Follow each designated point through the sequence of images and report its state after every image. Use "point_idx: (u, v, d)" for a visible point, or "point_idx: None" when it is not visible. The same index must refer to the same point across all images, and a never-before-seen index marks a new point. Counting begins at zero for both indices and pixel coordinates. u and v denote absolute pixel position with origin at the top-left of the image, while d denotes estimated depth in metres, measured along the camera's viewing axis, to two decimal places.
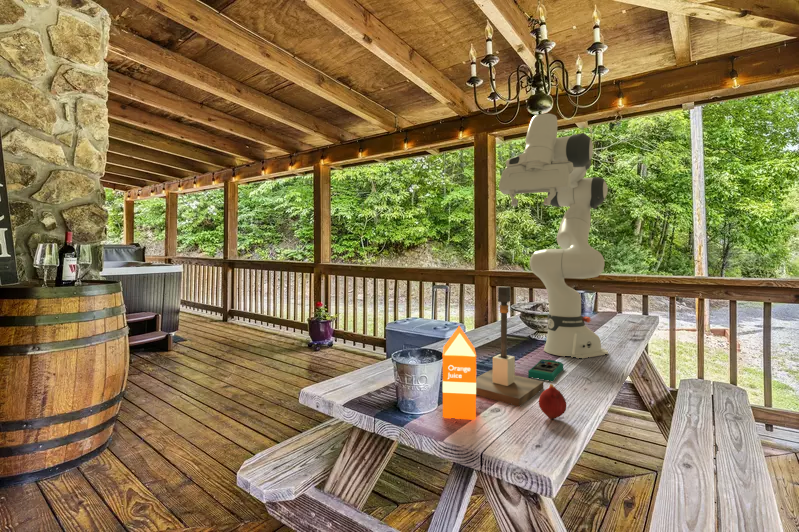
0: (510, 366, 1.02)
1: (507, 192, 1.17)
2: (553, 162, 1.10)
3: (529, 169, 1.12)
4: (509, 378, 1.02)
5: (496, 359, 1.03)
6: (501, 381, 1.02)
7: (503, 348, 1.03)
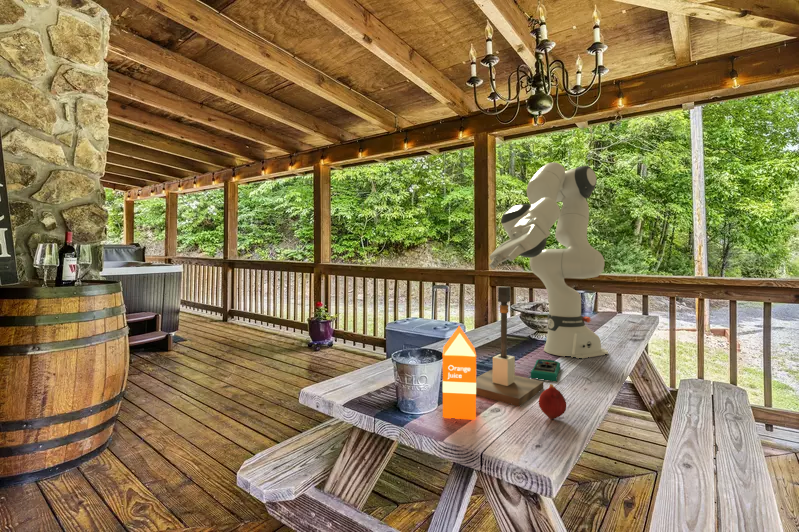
0: (510, 366, 1.02)
1: (524, 244, 1.06)
2: None
3: None
4: (509, 378, 1.02)
5: (496, 359, 1.03)
6: (501, 381, 1.02)
7: (503, 348, 1.03)
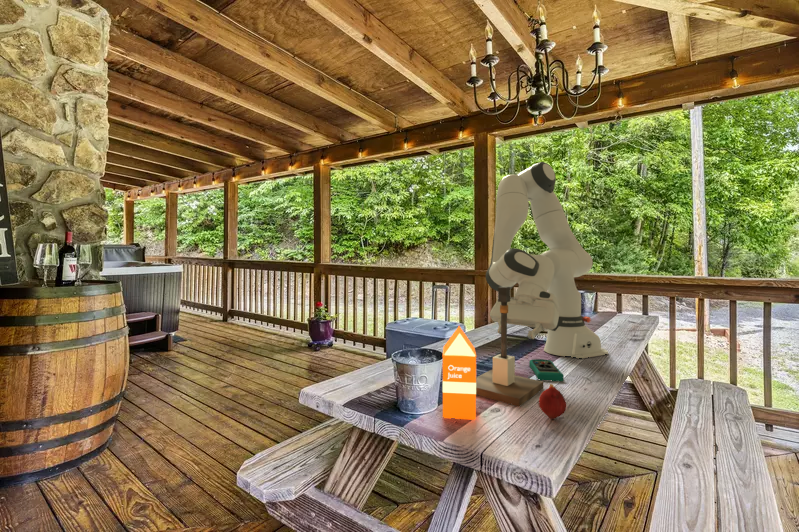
0: (510, 366, 1.02)
1: (545, 325, 1.08)
2: None
3: None
4: (509, 378, 1.02)
5: (496, 359, 1.03)
6: (501, 381, 1.02)
7: (503, 348, 1.03)
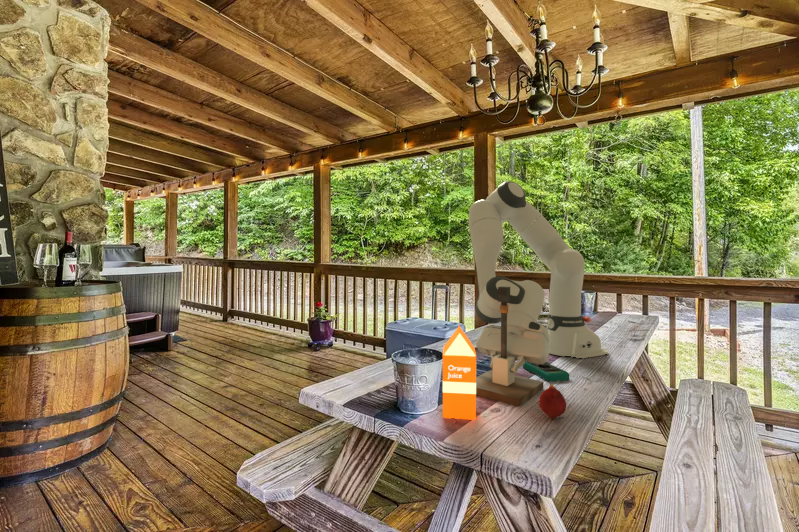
0: (510, 366, 1.02)
1: (534, 359, 1.01)
2: None
3: None
4: (509, 378, 1.02)
5: (496, 359, 1.03)
6: (501, 382, 1.02)
7: (503, 348, 1.03)
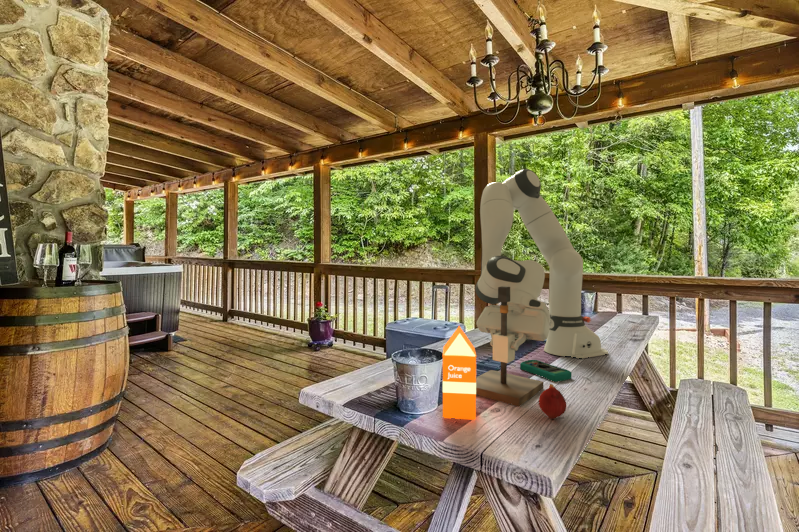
0: (510, 343, 1.02)
1: (535, 336, 1.00)
2: None
3: None
4: (509, 355, 1.02)
5: (496, 336, 1.03)
6: (501, 359, 1.02)
7: None
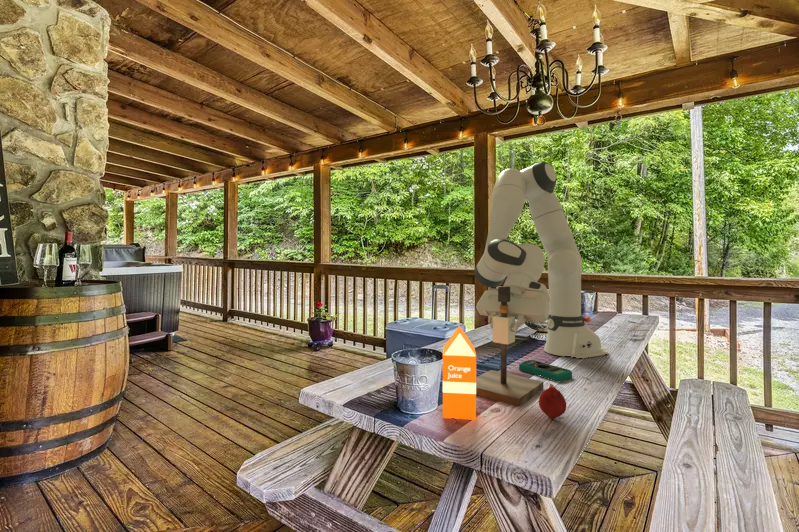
0: (510, 325, 1.02)
1: (535, 317, 1.00)
2: None
3: None
4: (509, 337, 1.01)
5: (496, 318, 1.02)
6: (501, 340, 1.02)
7: (503, 348, 1.03)
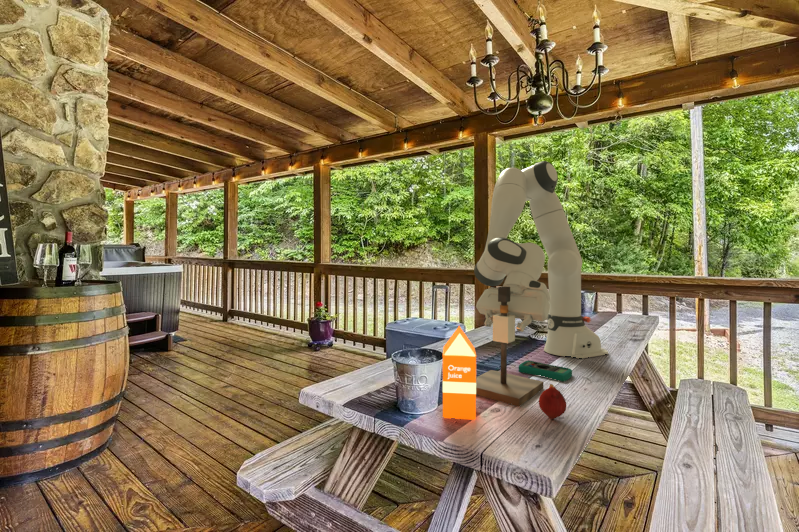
0: (510, 324, 1.02)
1: (535, 316, 1.00)
2: None
3: None
4: (509, 336, 1.01)
5: (496, 317, 1.02)
6: (501, 339, 1.02)
7: (503, 348, 1.03)
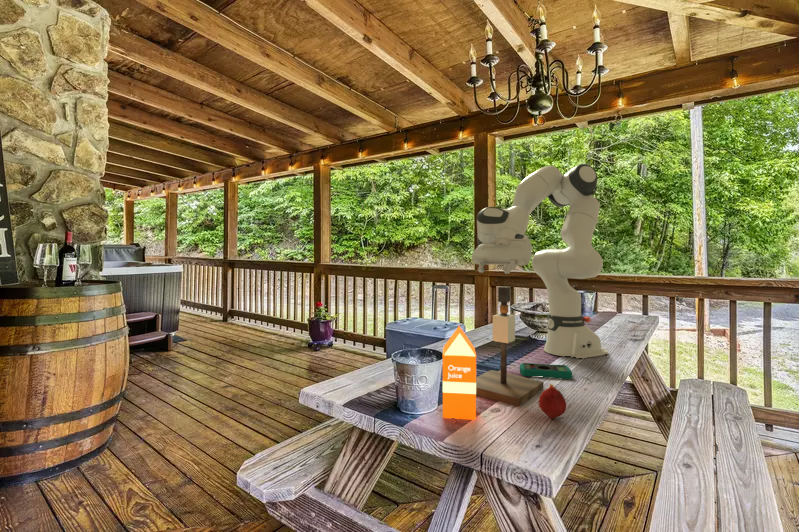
0: (510, 324, 1.02)
1: (519, 261, 1.23)
2: None
3: None
4: (509, 336, 1.01)
5: (496, 317, 1.02)
6: (501, 339, 1.02)
7: (503, 348, 1.03)
